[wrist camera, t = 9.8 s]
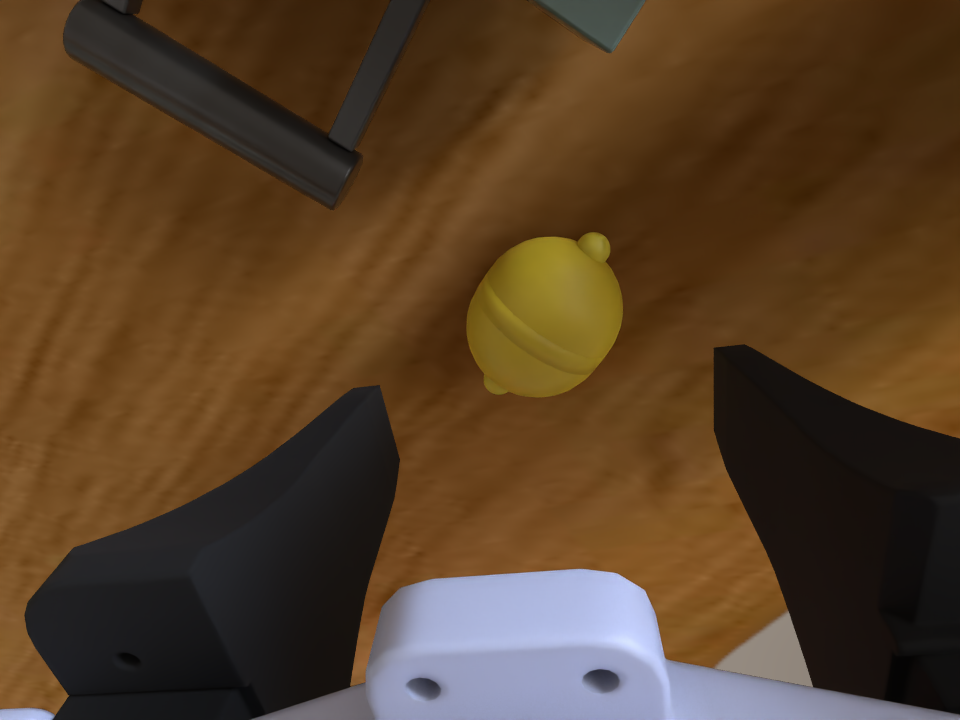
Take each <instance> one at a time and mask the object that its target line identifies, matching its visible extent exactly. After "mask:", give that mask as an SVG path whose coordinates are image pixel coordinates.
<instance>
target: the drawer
mask: <svg viewBox="0 0 960 720" xmlns="http://www.w3.org/2000/svg"><path fill="white" fill-rule="evenodd" d="M527 1H528V2H529V3H531V4H532V5H534V6H535V7H537V8H538V9H539V10H541V11H542V12H544V13H545V14H547V15H548V16H549V17H551V18H552V19H554V20H555V21H557V22H558V23H560V24H561V25H562V26H564V27H565V28H567V29H568V30H570V31H571V32H572V33H574V34H575V35H577V36H578V37H580V38H581V39H582V40H584V41H586V42H588V43H590V44H591V45H593V46H595V47H597V48H599V49H601V50H603V51H605V52H606V53H612V52H613V51H614V50H615V48H616V47H617V45H618V44H619V42H620V40H621V39H622V37H623V36H624V34H625V33H626V31H627V29H628V28H629V26H630V25H631V23H632V22H633V20H634V18H635V17H636V15H637V14H638V12H639V11H640V9H641V7H642V6H643V4H644V3H645V1H646V0H527ZM142 2H143V0H80V1H79V2H78V3H77V4H76V5H75V6H74V8H73V9H72V11H71V12H70V14H69V16H68V18H67V21H66V24H65V27H64V33H63V44H64V48H65V51H66V53H67V54H68V55H69V56H70V58H72V59H73V60H75V61H77V62H78V63H80V64H82V65H83V66H85V67H87V68H89V69H90V70H92V71H94V72H95V73H97V74H99V75H100V76H102V77H104V78H106V79H107V80H109V81H111V82H112V83H114V84H116V85H118V86H119V87H121V88H123V89H124V90H126V91H128V92H130V93H131V94H133V95H135V96H136V97H138V98H140V99H141V100H143V101H145V102H147V103H148V104H150V105H152V106H153V107H155V108H157V109H159V110H160V111H162V112H164V113H165V114H167V115H169V116H171V117H172V118H174V119H176V120H177V121H179V122H181V123H182V124H184V125H186V126H188V127H189V128H191V129H193V130H194V131H196V132H198V133H200V134H201V135H203V136H205V137H206V138H208V139H210V140H212V141H213V142H215V143H217V144H218V145H220V146H222V147H223V148H225V149H227V150H229V151H230V152H232V153H234V154H235V155H237V156H239V157H241V158H242V159H244V160H246V161H247V162H249V163H251V164H253V165H254V166H256V167H258V168H259V169H261V170H263V171H264V172H266V173H268V174H270V175H271V176H273V177H275V178H276V179H278V180H280V181H282V182H283V183H285V184H287V185H288V186H290V187H292V188H294V189H295V190H297V191H299V192H300V193H302V194H304V195H305V196H307V197H309V198H311V199H312V200H314V201H316V202H317V203H319V204H321V205H323V206H324V207H326V208H328V209H329V210H333V211H334V210H335V209H337V208H338V207H339V205H340V204H341V203H342V201H343V200H344V198H345V197H346V195H347V193H348V191H349V190H350V188H351V186H352V184H353V182H354V181H355V179H356V177H357V175H358V172H359V170H360V168H361V165H362V163H363V155H362V154H361V153H359V152H358V151H356V150H355V149H356V148H357V147H358V146H359V145H360V143H361V141H362V139H363V136H364V134H365V132H366V130H367V128H368V126H369V124H370V122H371V120H372V118H373V116H374V114H375V112H376V110H377V108H378V106H379V104H380V102H381V100H382V98H383V96H384V94H385V92H386V90H387V88H388V85H389V83H390V81H391V79H392V77H393V75H394V73H395V71H396V69H397V67H398V65H399V63H400V61H401V59H402V57H403V55H404V53H405V51H406V49H407V47H408V45H409V43H410V41H411V39H412V37H413V34H414V32H415V30H416V28H417V26H418V24H419V22H420V20H421V18H422V16H423V14H424V12H425V10H426V8H427V6H428V4H429V2H430V0H390V2H389V4H388V6H387V9H386V11H385V13H384V15H383V17H382V19H381V21H380V24H379V26H378V28H377V30H376V32H375V34H374V37H373V39H372V41H371V43H370V45H369V47H368V50H367V52H366V54H365V56H364V58H363V60H362V63H361V65H360V67H359V69H358V71H357V73H356V75H355V78H354V80H353V82H352V84H351V86H350V88H349V91H348V93H347V95H346V97H345V99H344V101H343V104H342V106H341V108H340V110H339V112H338V114H337V117H336V119H335V121H334V123H333V125H332V127H331V129H330V132H329V134H328V133H327V132H325V131H323V130H322V129H320V128H318V127H317V126H315V125H314V124H312V123H310V122H309V121H307V120H305V119H304V118H302V117H300V116H299V115H297V114H295V113H294V112H292V111H291V110H289V109H287V108H286V107H284V106H282V105H281V104H279V103H277V102H276V101H274V100H273V99H271V98H269V97H268V96H266V95H264V94H263V93H261V92H259V91H258V90H256V89H254V88H253V87H251V86H250V85H248V84H246V83H245V82H243V81H241V80H240V79H238V78H236V77H235V76H233V75H232V74H230V73H228V72H227V71H225V70H223V69H222V68H220V67H218V66H217V65H215V64H213V63H212V62H210V61H209V60H207V59H205V58H204V57H202V56H200V55H199V54H197V53H195V52H194V51H192V50H191V49H189V48H187V47H186V46H184V45H182V44H181V43H179V42H177V41H176V40H174V39H172V38H171V37H169V36H168V35H166V34H164V33H163V32H161V31H159V30H158V29H156V28H154V27H153V26H151V25H150V24H148V23H146V22H145V21H143V20H141V19H140V18H138V17H136V16H135V15H133V14H138V13H139V12H140V8H141V5H142Z"/></svg>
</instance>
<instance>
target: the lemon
mask: <svg viewBox="0 0 960 720" xmlns="http://www.w3.org/2000/svg"><path fill="white" fill-rule="evenodd" d="M609 254H610V244H609V242H608V240H607V238H606V237H605V236H603V235H602V234H600V233H596V232H591V233H587V234H585V235H583V236H582V237H581V238H580V239H579V240H578V242H577V241H574V240H572V239H567V238H561V237H555V236H554V237H538V238H534V239H531V240H527V241H524V242H522V243H520V244H518V245H516V246H514V247H513V248H511V249H509V250H508V251H507V252H505V253H504V254H503V255H502V256H500V257H499V258H498V259H497V260H496V262H495V263H494V264H493V265H492V267H491V268H490V269H489V271H488V272H487V274H486V275H485V277H484V278H483V280H482V281H481V283H480V284H479V286H478V288H477V290H476V292H475V294H474V296H473V298H472V300H471V302H470V306H469V309H468V313H467V327H466V333H467V339H468V344H469V348H470V351H471V353H472V355H473V357H474V359H475V361H476V363H477V365H478V366H479V368H480V369H481V370H482V371H483V373H484V384H485V387H486V388H487V390H488V391H490V392H491V393H493V394H497V395H501V394H505V393H507V392H508V391H509V392H511V393H514V394H517V395H521V396H527V397H537V398H541V397H548V396H554V395H558V394H561V393H564V392H566V391H569V390H570V389H572V388H573V387H575V386H577V385H578V384H580V383H581V382H583V381H584V380H585V379H586V378H587V377H588V376H589V375H590V374H591V373H592V372H593V371H594V370H595V369H596V368H597V366H598V365H599V364H600V363H601V361H602V360H603V359H604V358H605V356H606V355H607V354H608V352H609V351H610V349H611V347H612V346H613V344H614V343H615V340H616V338H617V335H618V333H619V330H620V328H621V323H622V316H623V303H622V294H621V291H620V287H619V283H618V281H617V279H616V277H615V275H614V273H613V271H612V269H611V268H610V266H609V265H608V264H607V263H606V262H605V261H606V260H607V259H608V257H609Z"/></svg>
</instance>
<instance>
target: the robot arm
mask: <svg viewBox="0 0 960 720" xmlns="http://www.w3.org/2000/svg"><path fill="white" fill-rule="evenodd" d="M714 432H715V435H716V439H717V442H718V445H719V449H720V452H721V455H722V458H723V461H724V464H725V467H726V470H727V472H728V474H729V476H730V478H731V480H732V482H733V484H734V487H735V489H736V491H737V493H738V495H739V497H740V499H741V501H742V503H743V505H744V507H745V509H746V511H747V513H748V515H749V517H750V519H751V522H752V524H753V526H754V528H755V530H756V532H757V534H758V536H759V538H760V540H761V542H762V544H763V546H764V548H765V550H766V552H767V555H768V557H769V559H770V562H771V564H772V566H773V569H774V571H775V574H776V577H777V579H778V582H779V585H780V588H781V591H782V594H783V596H784V599H785V602H786V605H787V608H788V611H789V613H790V616H791V620H792V623H793V625H794V629H795V631H796V635H797V638H798V640H799V644H800V647H801V650H802V653H803V656H804V659H805V662H806V665H807V668H808V672H809V675H810V678H811V681H812V685H813V687H809V686H804V685H799V684H794V683H788V682H783V681H778V680H772V679H767V678H762V677H756V676H751V675H745V674H740V673H734V672H729V671H723V670H719V669H714V668H708V667H703V666H698V665H692V664H687V663H681V662H676V661H671V660H667V659H665V657H664V653H663V648H662V643H661V638H660V633H659V628H658V624H657V619H656V614H655V612H654V610H653V607H652V605H651V603H650V601H649V599H648V597H647V594H646V592H645V590H643V589H642V588H640V587H639V586H637V585H635V584H634V583H632V582H630V581H629V580H627V579H625V578H624V577H622V576H620V575H619V574H617V573H611V572H603V571H595V570H587V569H570V570H556V571H541V572H527V573H512V574H497V575H483V576H468V577H454V578H439V579H430V580H426V581H423V582H419V583H416V584H412V585H409V586H405V587H402V588H400V589H399V590H398V591H397V592H396V593H395V594H394V595H393V596H392V597H391V598H390V599H389V600H388V601H387V602H386V603H385V604H384V605H383V606H382V609H381V613H380V617H379V621H378V625H377V629H376V633H375V637H374V641H373V645H372V649H371V653H370V657H369V661H368V665H367V669H366V682H365V683H362V684H359V685H356V686H353V687H350V682H351V676H352V670H353V663H354V657H355V651H356V644H357V638H358V633H359V627H360V622H361V616H362V611H363V606H364V600H365V596H366V592H367V588H368V584H369V580H370V577H371V573H372V570H373V567H374V564H375V560H376V557H377V554H378V551H379V547H380V544H381V541H382V538H383V534H384V531H385V528H386V525H387V521H388V518H389V515H390V511H391V508H392V504H393V501H394V497H395V491H396V485H397V478H398V471H399V463H400V458H399V454H398V451H397V447H396V443H395V440H394V436H393V433H392V429H391V425H390V422H389V418H388V414H387V411H386V407H385V403H384V400H383V396H382V392H381V389H380V385H377V386H368V387H359V388H353V389H351V390H350V391H348V392H347V393H346V394H344V395H343V396H342V397H340V398H339V399H338V400H337V401H335V402H334V403H333V404H332V405H331V406H329V407H328V408H327V409H326V410H325V411H323V412H322V413H321V414H320V415H319V416H318V417H316V418H315V419H314V420H313V421H312V422H310V423H309V424H308V425H307V426H306V427H304V428H303V429H302V430H301V431H299V432H298V433H297V434H296V435H294V436H293V437H292V438H290V439H289V440H288V441H286V442H285V443H284V444H283V445H281V446H280V447H279V448H277V449H276V450H275V451H273V452H272V453H271V454H269V455H268V456H267V457H265V458H264V459H262V460H261V461H260V462H258V463H257V464H255V465H254V466H252V467H251V468H249V469H248V470H246V471H244V472H243V473H241V474H240V475H238V476H236V477H235V478H233V479H232V480H230V481H228V482H226V483H225V484H223V485H221V486H219V487H217V488H215V489H214V490H212V491H210V492H208V493H206V494H204V495H202V496H200V497H198V498H197V499H195V500H193V501H191V502H189V503H187V504H185V505H183V506H181V507H179V508H176V509H174V510H172V511H170V512H168V513H165V514H163V515H161V516H159V517H156V518H154V519H151V520H149V521H147V522H144V523H142V524H139V525H137V526H134V527H132V528H129V529H127V530H124V531H121V532H118V533H115V534H112V535H109V536H107V537H104V538H101V539H98V540H95V541H92V542H89V543H86V544H83V545H80V546H77V547H74V548H73V549H72V550H71V551H70V552H69V553H68V555H67V556H66V557H65V558H64V559H63V561H62V562H61V563H60V564H59V565H58V567H57V568H56V569H55V570H54V571H53V572H52V574H51V575H50V576H49V577H48V578H47V580H46V581H45V582H44V583H43V584H42V586H41V587H40V588H39V589H38V590H37V592H36V593H35V594H34V595H33V596H32V598H31V599H30V600H29V601H28V603H27V607H26V611H25V615H24V616H25V622H26V629H27V632H28V635H29V637H30V639H31V641H32V642H33V644H34V646H35V648H36V650H37V651H38V652H39V654H40V655H41V657H42V658H43V660H44V661H45V662H46V664H47V665H48V667H49V668H50V669H51V671H52V672H53V674H54V675H55V677H56V678H57V679H58V681H59V682H60V684H61V685H62V687H63V688H64V689H65V691H66V692H67V694H68V695H69V697H68V698H67V700H66V701H65V703H64V704H63V705H62V707H61V708H60V710H59V711H58V713H57V714H56V715H54V714H53V713H51V712H49V711H47V710H44V709H39V708H16V709H0V720H960V439H959V438H955V437H952V436H948V435H945V434H941V433H938V432H934V431H931V430H927V429H924V428H921V427H917V426H914V425H911V424H908V423H905V422H902V421H899V420H896V419H894V418H891V417H888V416H886V415H883V414H881V413H878V412H875V411H873V410H870V409H867V408H865V407H863V406H860V405H858V404H856V403H853V402H851V401H849V400H847V399H845V398H843V397H841V396H839V395H836V394H834V393H832V392H830V391H828V390H826V389H824V388H822V387H820V386H818V385H816V384H814V383H813V382H811V381H809V380H807V379H805V378H803V377H801V376H800V375H798V374H796V373H794V372H793V371H791V370H789V369H787V368H786V367H784V366H782V365H780V364H779V363H777V362H775V361H774V360H772V359H770V358H769V357H767V356H765V355H763V354H762V353H760V352H758V351H756V350H755V349H753V348H751V347H749V346H747V345H745V344H743V345H734V346H725V347H716V348H714Z"/></svg>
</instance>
